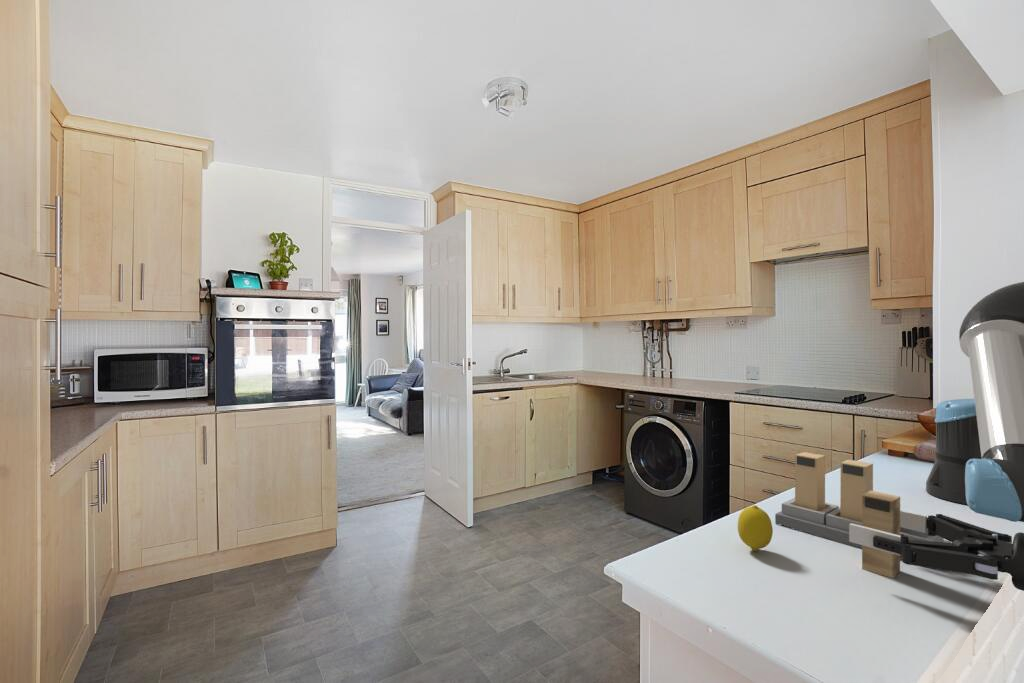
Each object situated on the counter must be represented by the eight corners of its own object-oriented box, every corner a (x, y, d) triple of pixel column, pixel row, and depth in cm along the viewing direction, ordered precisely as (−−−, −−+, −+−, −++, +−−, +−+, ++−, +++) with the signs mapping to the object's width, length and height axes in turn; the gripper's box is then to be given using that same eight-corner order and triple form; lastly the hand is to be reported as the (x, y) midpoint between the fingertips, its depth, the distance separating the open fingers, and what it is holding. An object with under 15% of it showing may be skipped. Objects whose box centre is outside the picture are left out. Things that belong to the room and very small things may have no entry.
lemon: (769, 546, 88) (769, 502, 88) (775, 559, 83) (775, 512, 83) (735, 542, 90) (736, 499, 90) (739, 555, 84) (739, 508, 84)
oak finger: (870, 561, 82) (870, 490, 82) (900, 570, 79) (900, 496, 79) (861, 569, 79) (861, 495, 79) (891, 578, 76) (892, 501, 76)
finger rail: (796, 512, 105) (796, 447, 105) (950, 553, 85) (950, 472, 85) (775, 523, 99) (775, 454, 99) (936, 569, 79) (936, 483, 79)
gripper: (1046, 633, 56) (836, 566, 73) (1064, 570, 72) (887, 526, 88) (1046, 568, 56) (836, 516, 73) (1064, 519, 72) (888, 485, 88)
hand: (864, 522), depth 81 cm, fingers open, 13 cm apart
